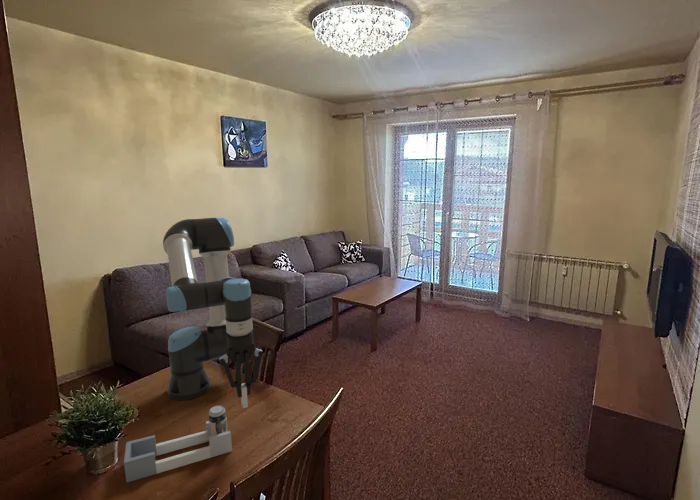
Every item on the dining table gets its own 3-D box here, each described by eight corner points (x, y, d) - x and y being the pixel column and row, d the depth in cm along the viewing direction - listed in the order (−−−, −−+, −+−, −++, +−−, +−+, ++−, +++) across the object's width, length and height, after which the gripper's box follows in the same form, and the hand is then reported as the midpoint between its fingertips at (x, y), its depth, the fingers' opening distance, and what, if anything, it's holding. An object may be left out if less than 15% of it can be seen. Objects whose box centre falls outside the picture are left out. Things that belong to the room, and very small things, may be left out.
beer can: (222, 451, 115) (219, 414, 112) (207, 449, 116) (204, 412, 113) (230, 440, 119) (228, 405, 117) (216, 438, 120) (213, 403, 118)
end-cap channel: (128, 460, 111) (126, 442, 110) (227, 433, 123) (226, 416, 121) (126, 482, 103) (123, 462, 102) (232, 451, 115) (230, 433, 114)
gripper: (218, 340, 108) (224, 417, 112) (264, 332, 114) (268, 406, 118) (214, 331, 115) (220, 404, 119) (259, 323, 120) (263, 394, 124)
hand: (244, 405), depth 118 cm, fingers closed
